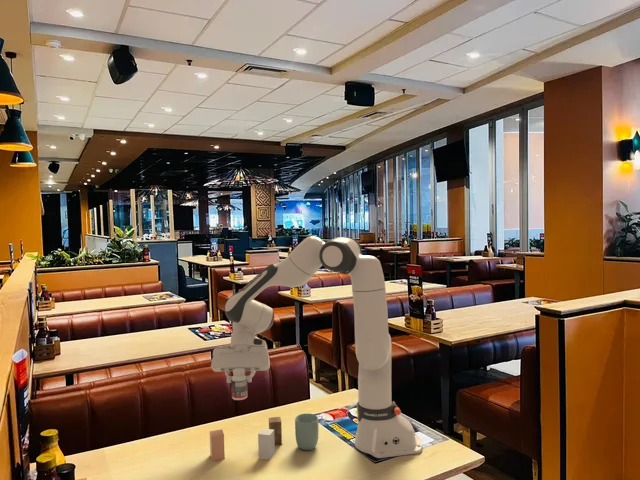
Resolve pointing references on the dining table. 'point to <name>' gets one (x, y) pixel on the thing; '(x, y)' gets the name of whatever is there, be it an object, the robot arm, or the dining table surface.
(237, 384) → the pill bottle
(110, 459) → the dining table surface
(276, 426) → the walnut block
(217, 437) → the terracotta block
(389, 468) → the dining table surface
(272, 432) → the grey block
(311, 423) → the cup
